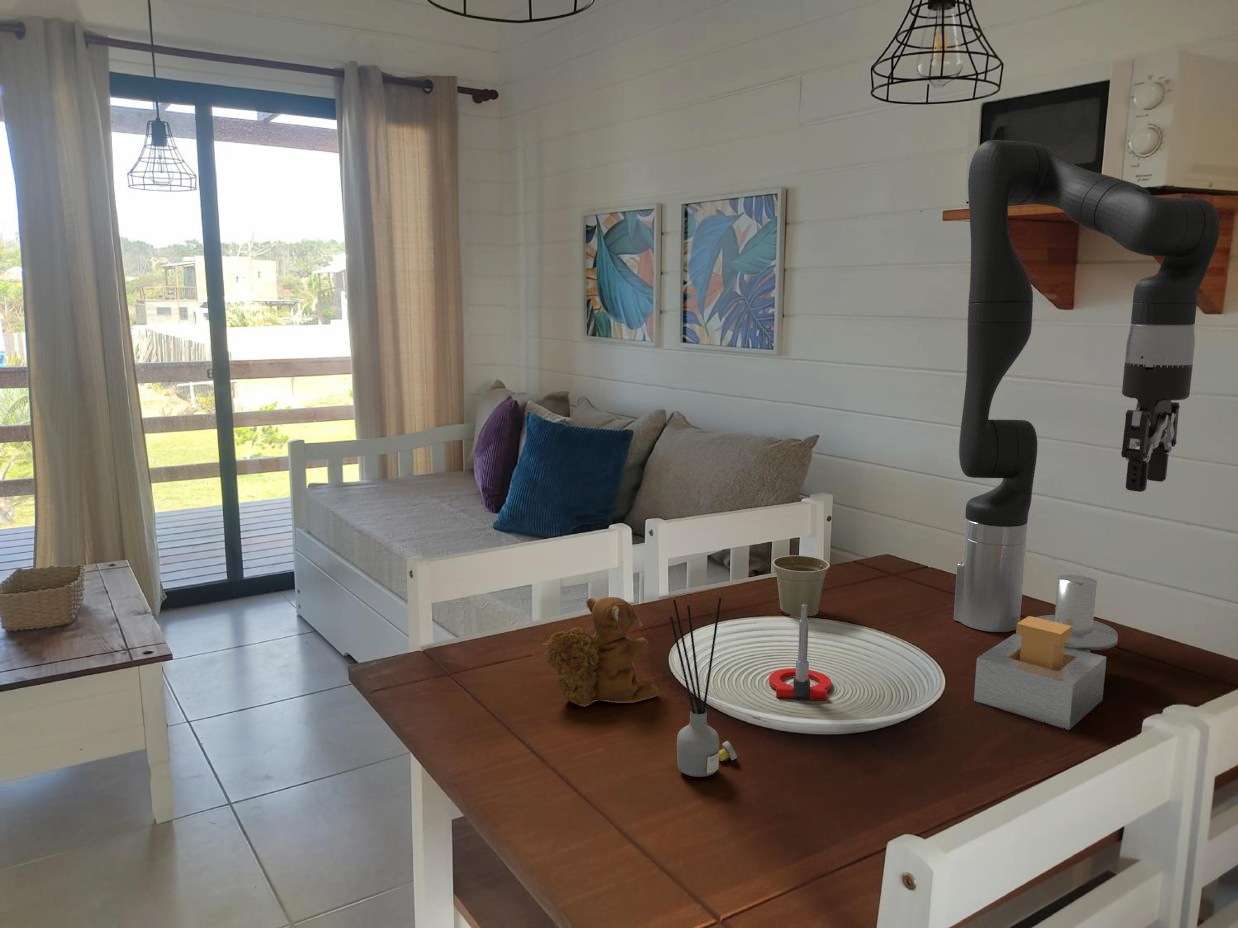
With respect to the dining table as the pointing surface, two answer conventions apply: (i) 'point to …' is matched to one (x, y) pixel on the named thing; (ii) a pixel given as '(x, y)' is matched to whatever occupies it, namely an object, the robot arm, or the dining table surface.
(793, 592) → the flower pot
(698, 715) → the reed diffuser
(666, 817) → the dining table surface
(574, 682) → the stuffed squirrel
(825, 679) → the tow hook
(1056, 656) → the wedge pin
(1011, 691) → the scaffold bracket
